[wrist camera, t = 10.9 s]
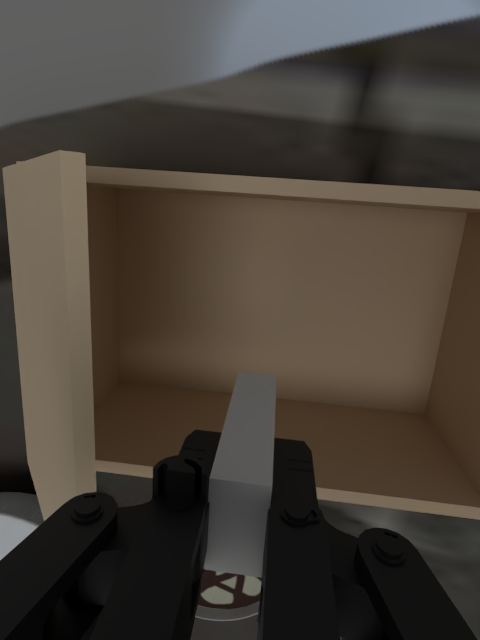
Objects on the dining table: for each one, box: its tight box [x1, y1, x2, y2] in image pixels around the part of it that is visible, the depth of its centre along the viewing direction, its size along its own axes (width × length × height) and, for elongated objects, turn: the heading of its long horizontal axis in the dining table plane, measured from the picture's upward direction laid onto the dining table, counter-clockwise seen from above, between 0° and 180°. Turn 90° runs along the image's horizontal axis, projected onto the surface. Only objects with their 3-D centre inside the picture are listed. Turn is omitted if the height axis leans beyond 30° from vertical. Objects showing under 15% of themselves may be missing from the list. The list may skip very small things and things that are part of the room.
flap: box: [3, 150, 96, 521], centre depth 18 cm, size 17×14×1 cm
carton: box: [17, 161, 480, 520], centre depth 28 cm, size 18×28×12 cm, turn 86°
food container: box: [195, 561, 262, 621], centre depth 34 cm, size 12×6×10 cm, turn 153°
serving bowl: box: [0, 492, 44, 560], centre depth 40 cm, size 21×21×7 cm
